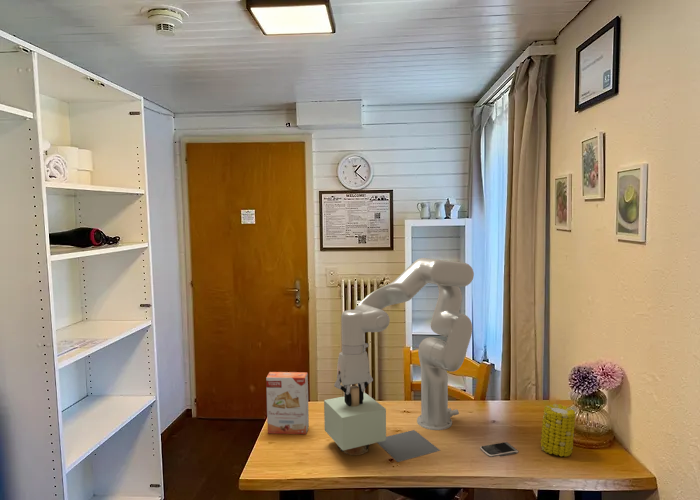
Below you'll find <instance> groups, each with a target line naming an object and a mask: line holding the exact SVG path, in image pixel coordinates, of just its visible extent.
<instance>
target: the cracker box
mask: <svg viewBox="0 0 700 500" xmlns="http://www.w3.org/2000/svg"><path fill="white" fill-rule="evenodd" d="M308 376H309V374H308V372H301V371H300V372H297V371H289V372H288V371H269V372H268V374H267V376H266V377H265V378H266V380H265V381H266V383H265V384H266V417H267V418H266V419H267V421H266V422H267V423H266V424H267V434H274V435H275V434H277V435H279V434H281V435H283V434H284V435H307V433H308V430H309V427H310V426H309V422H310V421H309V417H310V416H309V384H308V383H309V381H308V380H309V379H308Z"/></svg>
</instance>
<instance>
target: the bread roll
mask: <svg viewBox="0 0 700 500" xmlns="http://www.w3.org/2000/svg"><path fill="white" fill-rule="evenodd" d="M369 448H370V444H368V445H364V446H360V447H356V448H352V449H347V450H342V449H341V448H340V447H339V446H338V445H337V449H339V450H340V452H343V453H344V454H347V455H350V456H358V455H363V454H365V453H367V452H368V451H369Z"/></svg>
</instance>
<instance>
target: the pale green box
mask: <svg viewBox="0 0 700 500" xmlns="http://www.w3.org/2000/svg"><path fill="white" fill-rule="evenodd" d="M350 394H351V406H348V405H347V404H346V403H345V397H344V396H340V397H339V396H338V397H334V398H328V399H323V408H324V409H323V413H324V414H323V416H324V417H323V418H324V420H323V421H324V424H323V425H324V431H325V433H327V435H329V437H330V438H331V439H332V441H334V443H335V444H336V445H337V446H339V447H340V448H341V449H342V450H347V449H352V448H356V447H360V446H364V445H368V444H369V445H372V444H378V443H377V442H381V441H385V440H386V437H387V408H386V407H385V406H383V405H382V404H381V403H379V402H378V401H377V400H375V399H374V398H373V397H371V396H370V395H369V394H367V393H366V392H364V399H363V404H360V403H359V387H358V385H350Z"/></svg>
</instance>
